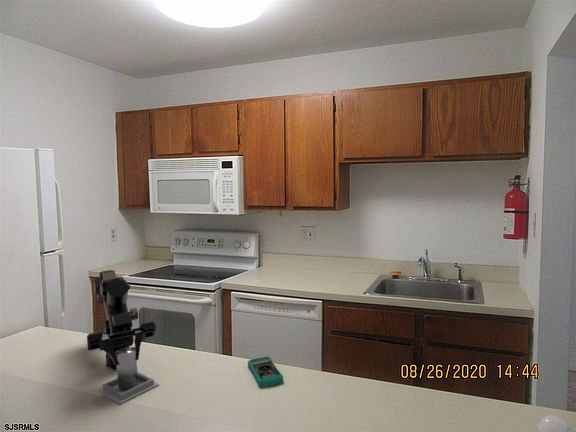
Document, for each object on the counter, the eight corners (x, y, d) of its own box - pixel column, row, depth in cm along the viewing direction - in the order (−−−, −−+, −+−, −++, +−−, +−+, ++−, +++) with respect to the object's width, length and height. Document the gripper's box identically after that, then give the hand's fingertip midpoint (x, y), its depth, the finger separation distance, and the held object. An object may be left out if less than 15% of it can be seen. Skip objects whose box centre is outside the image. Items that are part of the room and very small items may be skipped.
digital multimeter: (259, 390, 116) (259, 380, 116) (247, 367, 130) (247, 358, 130) (284, 385, 118) (284, 375, 118) (269, 363, 132) (269, 354, 132)
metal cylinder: (137, 377, 122) (134, 345, 121) (139, 385, 117) (136, 352, 116) (117, 382, 120) (114, 349, 119) (118, 390, 115) (115, 356, 114)
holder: (135, 374, 127) (135, 368, 127) (158, 385, 120) (158, 379, 120) (98, 391, 118) (97, 385, 118) (120, 404, 110) (120, 397, 110)
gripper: (84, 306, 115) (91, 359, 107) (152, 294, 124) (163, 342, 116) (84, 325, 123) (91, 375, 114) (148, 312, 132) (159, 358, 124)
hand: (127, 362), depth 117 cm, fingers closed on metal cylinder, 5 cm apart
